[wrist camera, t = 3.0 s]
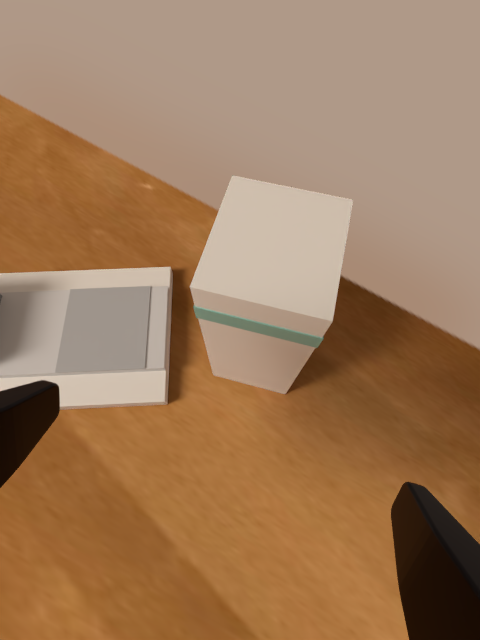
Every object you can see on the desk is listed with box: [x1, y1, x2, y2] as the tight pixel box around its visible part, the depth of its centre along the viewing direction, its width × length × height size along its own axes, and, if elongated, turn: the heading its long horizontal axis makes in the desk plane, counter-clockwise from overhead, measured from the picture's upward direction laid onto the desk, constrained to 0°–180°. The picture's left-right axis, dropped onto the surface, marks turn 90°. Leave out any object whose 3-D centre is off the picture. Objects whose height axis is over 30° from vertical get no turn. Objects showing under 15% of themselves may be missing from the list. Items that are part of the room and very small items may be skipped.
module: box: [190, 176, 353, 394], centre depth 18 cm, size 6×5×12 cm
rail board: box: [0, 267, 173, 410], centre depth 21 cm, size 10×17×5 cm, turn 93°
